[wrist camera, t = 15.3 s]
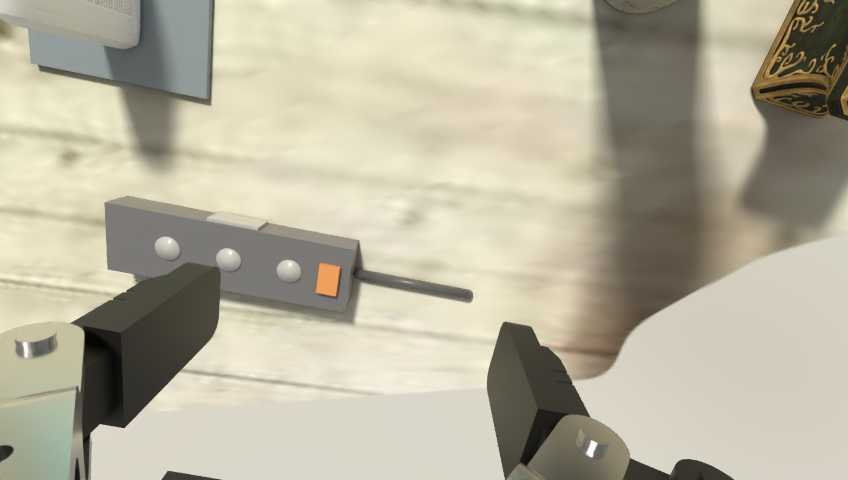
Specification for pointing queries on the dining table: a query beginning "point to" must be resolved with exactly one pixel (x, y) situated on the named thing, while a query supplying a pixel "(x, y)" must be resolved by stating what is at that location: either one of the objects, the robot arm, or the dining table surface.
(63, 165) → the dining table surface
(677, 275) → the dining table surface
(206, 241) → the power strip
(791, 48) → the decorative box
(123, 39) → the photo printer
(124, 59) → the rubber mat
